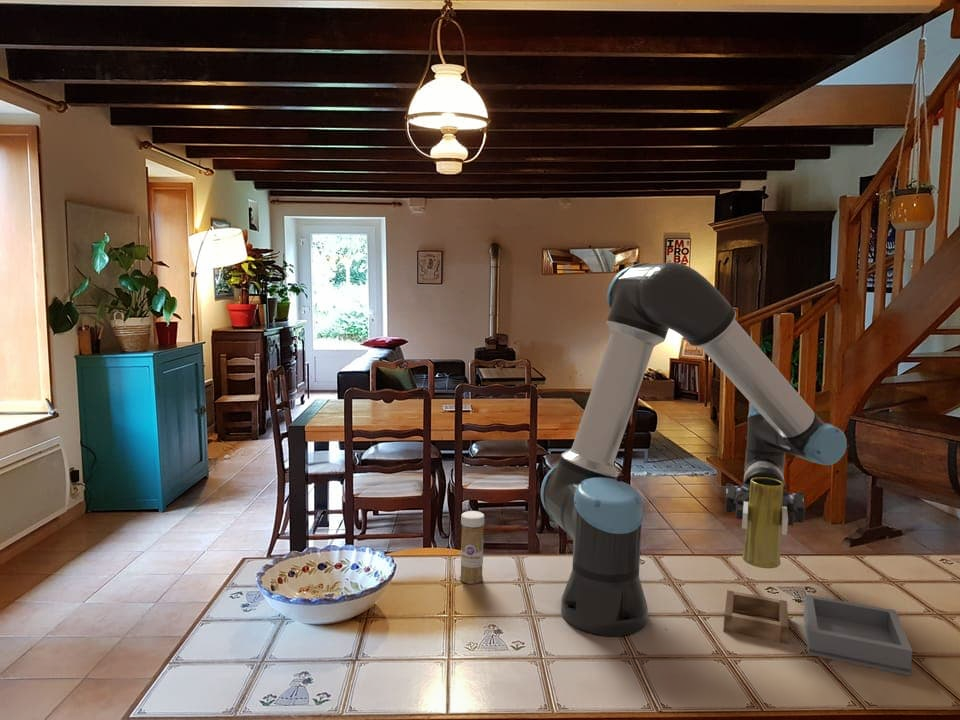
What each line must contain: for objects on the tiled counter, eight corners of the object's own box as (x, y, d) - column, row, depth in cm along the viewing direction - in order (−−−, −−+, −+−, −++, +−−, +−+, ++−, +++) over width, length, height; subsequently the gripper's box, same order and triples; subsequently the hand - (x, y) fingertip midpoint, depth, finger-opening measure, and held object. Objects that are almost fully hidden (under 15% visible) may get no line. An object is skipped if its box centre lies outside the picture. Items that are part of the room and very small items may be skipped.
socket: (723, 631, 114) (724, 614, 114) (726, 605, 123) (727, 590, 123) (787, 644, 110) (788, 627, 110) (785, 616, 120) (786, 601, 119)
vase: (781, 558, 117) (787, 479, 115) (779, 571, 112) (786, 489, 110) (743, 551, 120) (749, 474, 118) (740, 564, 114) (746, 483, 113)
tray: (808, 654, 107) (810, 631, 107) (803, 615, 120) (805, 594, 120) (909, 675, 102) (912, 651, 102) (893, 632, 115) (895, 610, 114)
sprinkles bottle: (460, 585, 130) (461, 518, 128) (459, 574, 134) (460, 510, 133) (484, 584, 130) (485, 518, 129) (482, 574, 135) (483, 510, 133)
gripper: (814, 510, 128) (825, 555, 107) (713, 497, 135) (704, 536, 114) (817, 472, 127) (829, 510, 106) (715, 461, 134) (707, 493, 113)
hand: (764, 523), depth 110 cm, fingers closed on vase, 5 cm apart
